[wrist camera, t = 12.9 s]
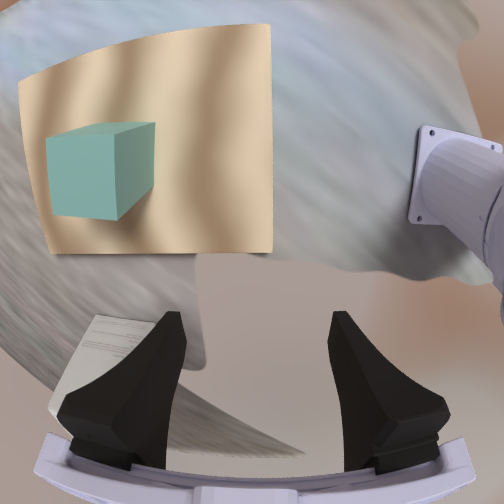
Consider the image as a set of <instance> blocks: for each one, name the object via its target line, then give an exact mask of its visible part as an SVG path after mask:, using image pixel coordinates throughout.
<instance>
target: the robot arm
mask: <svg viewBox="0 0 504 504" xmlns="http://www.w3.org/2000/svg"><path fill="white" fill-rule="evenodd" d="M431 130H432V135H431V136H430V133H429V132H430V131H431ZM491 145H492V148H491ZM502 150H503V148H502V145H501V144H498V143H495V142H492V141H489V140H485V139H482V138H478V137H474V136H471V135H467V134H463V133H459V132H454V131H450V130H446V129H441V128H436V127H431V126H426V125H423V126H421V128H420V130H419V141H418V151H417V160H416V169H415V176H414V183H413V190H412V196H411V202H410V208H409V214H408V220H409V222H410V223H411V224H425V225H444V226H445V227H447V228H448V229H449V230H450V231H451V232H452V233H453V234H454V235H455V236H456V237H457V238H459V239H460V240H461V241H462V242H463V243H464V244H465V245H466V246H467V247H468V248H469V249H470V250H471V251H472V252H473V253H474V254H475V255H476V256H477V257H478V258H479V259H480V260H481V261H482V262H483V263H484V264H485V265H486V266H487V267H488V268H489V269H490V271H491V272H492V274H493V277H494V281H493V284H494V285H495V287H496V288H497V289H498V290H499V291H500V292H501V294H502V295H503V297H502V300H501V306H500V313H501V319H502V323H503V325H504V154H502ZM419 216H420V219H419V220H417V218H418V217H419ZM186 343H187V340H186V336H185V332H184V328H183V324H182V320H181V315H180V312H174V311H167V312H166V313H165V315H164V316H163V317H162V318H161V319H160V321H159V322H158V323H157V324H156V325H155V326H154V328H153V329H152V330H151V331H150V332H149V333H148V335H147V336H146V337H145V338H144V339H143V340H142V341H141V342H140V343H139V344H138V345H137V346H136V347H135V348H134V349H133V350H132V351H131V352H130V353H129V354H128V355H127V356H126V357H125V358H124V359H123V360H122V361H120V362H119V363H118V364H117V365H116V366H114V367H113V368H111V369H110V370H109V371H107V372H106V373H104V374H103V375H102V376H100V377H99V378H97V379H95V380H94V381H92V382H90V383H88V384H87V385H85V386H83V387H81V388H79V389H77V390H75V391H72V392H70V393H68V394H66V396H65V398H64V400H63V402H62V404H61V406H60V408H59V411H58V413H57V416H56V417H57V419H58V421H59V422H60V424H61V425H62V426H63V427H64V428H65V429H66V430H67V431H68V432H69V433H70V434H71V435H72V436H73V439H72V442H71V441H70V440H68V439H66V438H64V437H61V436H58V435H56V434H53V433H51V432H48V434H47V436H46V439H45V441H44V443H43V446H42V448H41V451H40V454H39V456H38V459H37V462H36V465H35V467H34V470H33V471H34V473H35V474H37V475H38V476H40V477H42V478H43V479H45V480H46V481H48V482H49V483H51V484H53V485H54V486H56V487H58V488H59V489H61V490H63V491H66V492H68V493H70V494H72V495H75V496H77V497H80V498H82V499H84V500H87V501H89V502H92V503H95V504H429V503H432V502H434V501H436V500H439V499H442V498H444V497H446V496H449V495H451V494H452V493H454V492H456V491H458V490H459V489H461V488H463V487H464V486H466V485H468V484H469V483H471V482H472V481H474V480H475V479H476V475H475V472H474V468H473V465H472V462H471V459H470V455H469V452H468V450H467V446H466V444H465V440H464V438H463V437H460V438H457V439H454V440H452V441H449V442H446V443H444V444H442V445H440V446H438V445H437V441H438V440H439V436H438V433H437V432H438V431H439V430H440V429H441V428H442V427H443V426H444V425H445V424H446V423H447V421H448V420H449V418H450V415H451V414H450V412H449V409H448V406H447V404H446V402H445V400H444V398H443V397H442V396H440V395H438V394H436V393H433V392H432V391H430V390H428V389H426V388H424V387H423V386H421V385H420V384H418V383H416V382H415V381H413V380H412V379H410V378H409V377H408V376H406V375H405V374H404V373H402V372H401V371H400V370H399V369H397V368H396V367H395V366H394V365H393V364H392V363H390V362H389V361H388V360H387V359H386V358H385V357H384V356H383V355H382V354H381V353H380V352H379V351H378V350H377V349H376V347H375V346H374V345H373V344H372V343H371V342H370V341H369V340H368V338H367V337H366V336H365V335H364V333H363V332H362V331H361V330H360V329H359V327H358V326H357V325H356V323H355V322H354V321H353V319H352V318H351V317H350V315H349V314H348V313H347V312H346V311H334V312H333V317H332V322H331V327H330V332H329V337H328V350H329V358H330V363H331V367H332V371H333V375H334V379H335V383H336V388H337V392H338V395H339V401H340V406H341V416H342V426H343V438H344V439H343V440H344V472H343V473H336V474H328V475H318V476H307V477H291V478H234V477H218V476H206V475H197V474H189V473H181V472H174V471H168V470H166V449H167V437H168V428H169V420H170V413H171V406H172V401H173V397H174V393H175V390H176V386H177V383H178V379H179V375H180V372H181V369H182V365H183V362H184V357H185V350H186Z"/></svg>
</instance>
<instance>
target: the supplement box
mask: <svg viewBox="0 0 504 504" xmlns="http://www.w3.org/2000/svg"><path fill="white" fill-rule="evenodd" d="M155 325H156V323H152V322H143V321H136V320H129V319H122V318H115V317H109V316H102V315H95V317H94V319H93V320H92V322H91V324H90V326H89V327H88V329H87V331H86V333H85V334H84V336H83V338H82V340H81V341H80V343H79V345H78V347H77V349H76V350H75V352H74V354H73V356H72V358H71V360H70V362H69V363H68V365H67V367H66V369H65V371H64V373H63V375H62V377H61V379H60V381H59V383H58V385H57V387H56V389H55V391H54V393H53V395H52V398H51V399H50V402H49V404H48V406H47V408H48V409H49V411H50V412H51V414H52V415H53V416H54V417H55V419H56V420H57V421H58V419H57V417H56V416H57V413H58V411H59V408H60V406H61V404H62V402H63V400H64V398H65V396H66V394H68V393H70V392H72V391H75V390H77V389H79V388H81V387H83V386H85V385H87V384H88V383H90V382H92V381H94V380H95V379H97V378H99V377H100V376H102V375H103V374H104V373H106V372H107V371H109V370H110V369H111V368H113V367H114V366H116V365H117V364H118V363H119V362H120V361H122V360H123V359H124V358H125V357H126V356H127V355H128V354H129V353H130V352H131V351H132V350H133V349H134V348H135V347H136V346H137V345H138V344H139V343H140V342H141V341H142V340H143V339H144V338H145V337H146V336H147V335H148V333H149V332H150V331H151V330H152V329H153V328H154V326H155ZM58 422H59V421H58ZM59 423H60V422H59ZM63 428H64V427H63ZM64 429H65V428H64ZM65 430H66V429H65ZM66 431H67V430H66ZM67 432H68V431H67ZM68 433H69V432H68ZM69 434H70V433H69ZM70 435H71V434H70ZM71 436H72V435H71ZM72 437H73V436H72Z"/></svg>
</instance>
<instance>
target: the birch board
mask: <svg viewBox="0 0 504 504" xmlns="http://www.w3.org/2000/svg"><path fill="white" fill-rule="evenodd" d="M18 89H19V105H20V117H21V126H22V134H23V142H24V148H25V155H26V160H27V166H28V171H29V176H30V181H31V186H32V190H33V194H34V198H35V202H36V206H37V210H38V214H39V218H40V221H41V225H42V228H43V231H44V235H45V238H46V241H47V244H48V247H49V250H50V253H51V254H153V253H272V249H273V134H272V73H271V36H270V24H241V25H225V26H213V27H203V28H195V29H187V30H181V31H174V32H168V33H163V34H158V35H153V36H148V37H143V38H139V39H135V40H130V41H127V42H123V43H119V44H115V45H112V46H108V47H105V48H102V49H98V50H95V51H92V52H89V53H86V54H83V55H80V56H78V57H75V58H72V59H69V60H67V61H64V62H62V63H59V64H57V65H54V66H52V67H50V68H47V69H45V70H43V71H40V72H38V73H36V74H34V75H32V76H30V77H28V78H25V79H23V80H21V81H19V82H18ZM111 122H156V124H155V148H154V186H153V187H152V188H151V189H150V190H149V191H148V192H147V193H146V194H145V195H144V196H143V197H141V198H140V199H139V200H138V201H137V202H136V203H135V204H134V205H133V206H132V207H131V208H130V209H129V210H128V211H127V212H126V213H125V214H124V215H123V216H122V217H121V218H120V219H119V220H118V221H114V220H104V219H93V218H82V217H71V216H60V215H53V211H52V204H51V196H50V188H49V179H48V168H47V155H46V138H48V137H51V136H54V135H57V134H61V133H64V132H67V131H71V130H74V129H77V128H81V127H85V126H88V125H92V124H96V123H111Z"/></svg>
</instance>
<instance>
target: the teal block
mask: <svg viewBox="0 0 504 504" xmlns="http://www.w3.org/2000/svg"><path fill="white" fill-rule="evenodd" d="M155 124H156V122H111V123H96V124H92V125H88V126H85V127H81V128H77V129H74V130H71V131H67V132H64V133H61V134H57V135H54V136H51V137H48V138H46V155H47V168H48V179H49V188H50V196H51V204H52V211H53V215H60V216H71V217H82V218H93V219H104V220H114V221H118V220H119V219H120V218H121V217H122V216H123V215H124V214H125V213H126V212H127V211H128V210H129V209H130V208H131V207H132V206H133V205H134V204H135V203H136V202H137V201H138V200H139V199H140V198H141V197H143V196H144V195H145V194H146V193H147V192H148V191H149V190H150V189H151V188H152V187H153V186H154V148H155Z"/></svg>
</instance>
